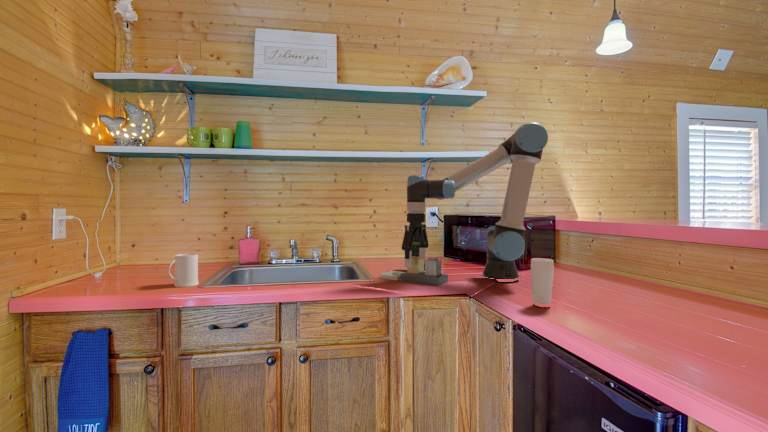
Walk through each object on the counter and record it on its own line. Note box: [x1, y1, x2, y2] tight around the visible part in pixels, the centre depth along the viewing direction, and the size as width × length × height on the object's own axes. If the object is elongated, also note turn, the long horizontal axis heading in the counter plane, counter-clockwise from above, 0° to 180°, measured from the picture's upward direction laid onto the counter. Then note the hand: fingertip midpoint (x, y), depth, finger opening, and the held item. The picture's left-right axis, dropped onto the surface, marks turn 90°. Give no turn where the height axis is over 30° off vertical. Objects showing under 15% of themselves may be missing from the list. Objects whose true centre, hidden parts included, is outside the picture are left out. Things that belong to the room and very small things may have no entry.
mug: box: [167, 253, 200, 288], centre depth 144 cm, size 12×8×12 cm
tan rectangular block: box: [406, 256, 424, 275], centre depth 153 cm, size 5×5×10 cm
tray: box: [378, 270, 405, 281], centre depth 160 cm, size 9×11×2 cm
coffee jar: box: [410, 236, 425, 271], centre depth 177 cm, size 10×8×19 cm
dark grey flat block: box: [400, 271, 449, 287], centre depth 151 cm, size 17×9×4 cm, turn 57°
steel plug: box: [425, 257, 443, 277], centre depth 149 cm, size 5×5×10 cm
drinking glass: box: [530, 257, 555, 304], centre depth 117 cm, size 7×7×15 cm
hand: (415, 264), depth 153 cm, fingers open, 12 cm apart
